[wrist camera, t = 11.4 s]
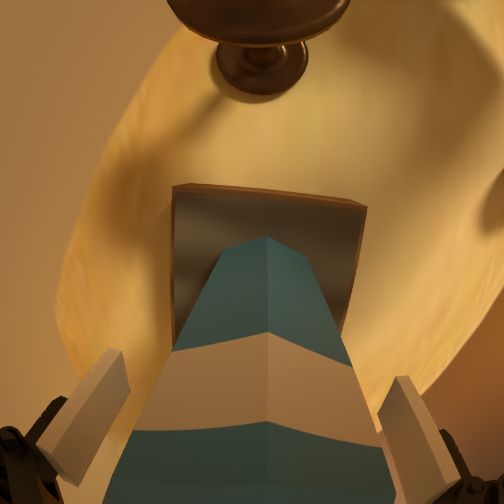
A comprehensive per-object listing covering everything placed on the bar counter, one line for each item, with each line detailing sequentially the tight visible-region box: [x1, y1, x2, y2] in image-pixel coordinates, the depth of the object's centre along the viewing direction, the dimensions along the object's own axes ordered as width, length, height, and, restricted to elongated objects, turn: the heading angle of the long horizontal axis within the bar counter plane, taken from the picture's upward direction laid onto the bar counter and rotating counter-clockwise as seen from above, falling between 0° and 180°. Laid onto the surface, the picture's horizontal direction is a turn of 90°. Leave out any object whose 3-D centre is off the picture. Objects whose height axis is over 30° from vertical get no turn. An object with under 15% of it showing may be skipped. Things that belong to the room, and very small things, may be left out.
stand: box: [170, 183, 367, 347], centre depth 27 cm, size 16×16×6 cm
